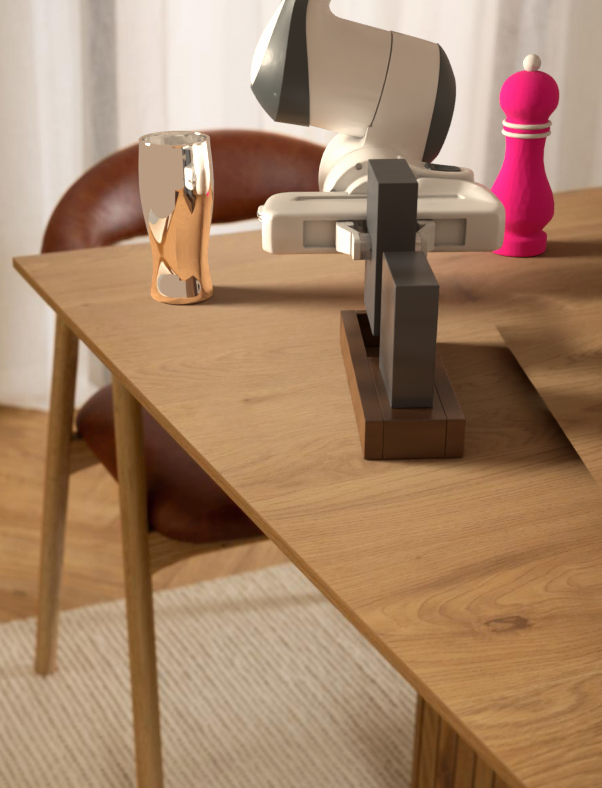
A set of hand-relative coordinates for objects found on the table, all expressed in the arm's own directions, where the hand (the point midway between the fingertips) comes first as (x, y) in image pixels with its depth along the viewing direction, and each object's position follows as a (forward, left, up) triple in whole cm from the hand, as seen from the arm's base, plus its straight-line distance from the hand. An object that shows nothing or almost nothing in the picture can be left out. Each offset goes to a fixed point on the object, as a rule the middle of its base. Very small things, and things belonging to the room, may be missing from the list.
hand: (391, 250), depth 93 cm
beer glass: (+17, -21, -10) cm, 29 cm away
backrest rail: (0, +5, -10) cm, 11 cm away
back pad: (0, -1, -6) cm, 6 cm away
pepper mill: (-19, -33, -10) cm, 40 cm away
